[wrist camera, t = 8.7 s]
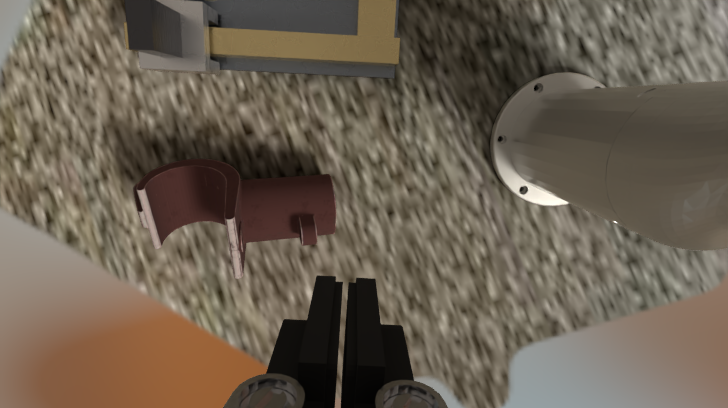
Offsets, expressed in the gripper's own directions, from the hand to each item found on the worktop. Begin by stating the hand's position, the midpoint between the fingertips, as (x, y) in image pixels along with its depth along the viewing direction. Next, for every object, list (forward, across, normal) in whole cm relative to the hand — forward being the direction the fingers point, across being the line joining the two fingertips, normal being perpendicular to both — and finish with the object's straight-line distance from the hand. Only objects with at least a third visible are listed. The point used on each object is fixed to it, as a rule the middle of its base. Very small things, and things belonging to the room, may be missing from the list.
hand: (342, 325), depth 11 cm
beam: (+27, +8, -12) cm, 31 cm away
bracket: (+29, +10, +4) cm, 31 cm away
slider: (+27, +15, -12) cm, 33 cm away
